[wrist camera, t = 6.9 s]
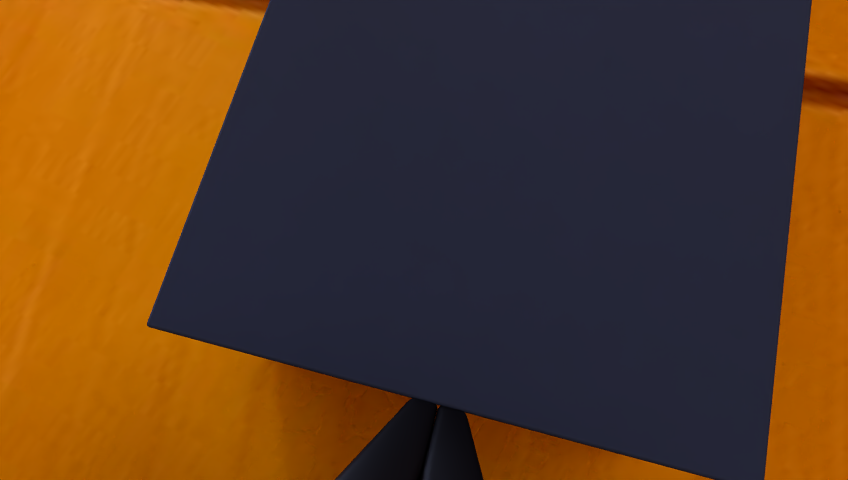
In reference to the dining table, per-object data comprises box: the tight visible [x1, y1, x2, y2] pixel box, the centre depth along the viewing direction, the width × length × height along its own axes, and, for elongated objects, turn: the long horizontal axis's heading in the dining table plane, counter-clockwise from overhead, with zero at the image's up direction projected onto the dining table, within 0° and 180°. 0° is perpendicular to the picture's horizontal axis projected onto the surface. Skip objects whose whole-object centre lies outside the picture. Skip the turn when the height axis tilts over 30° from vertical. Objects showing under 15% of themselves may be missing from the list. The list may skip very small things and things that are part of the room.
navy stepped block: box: [147, 0, 812, 480], centre depth 14 cm, size 20×10×8 cm, turn 166°
